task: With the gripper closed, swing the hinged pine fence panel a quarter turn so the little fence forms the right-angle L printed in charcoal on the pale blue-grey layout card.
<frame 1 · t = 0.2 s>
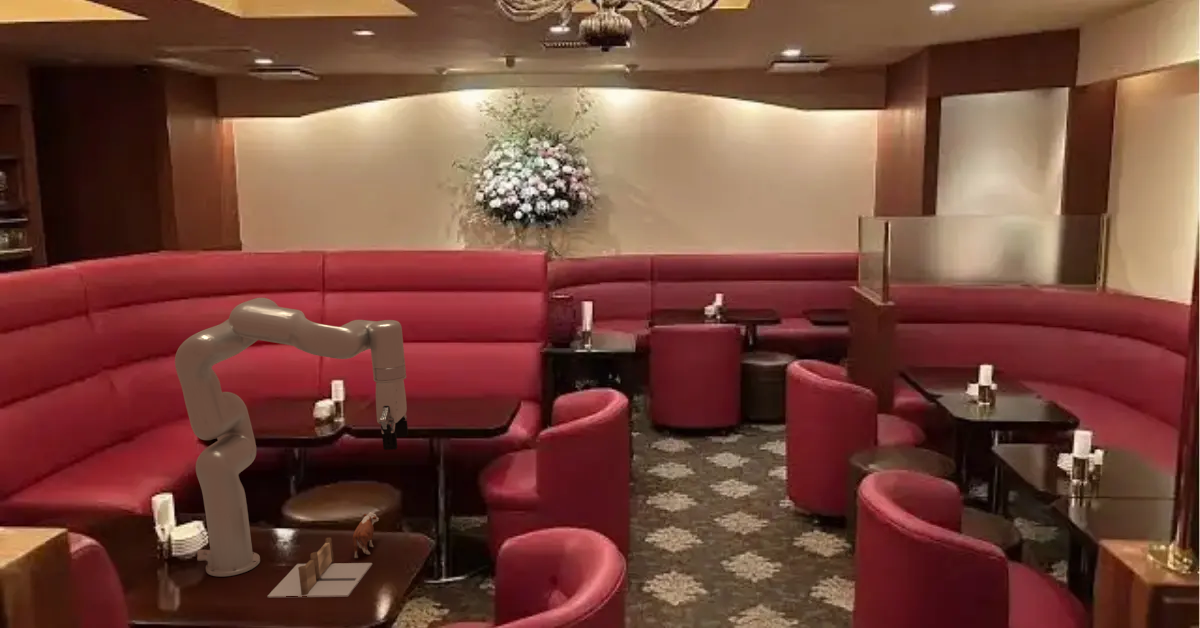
hand: (396, 442, 226), 31 cm above the table, tool pointing down, fingers open, 9 cm apart
fixed fence section: (310, 589, 220), resting on layout card
bull figurine: (366, 550, 241), on the table
fence panel: (322, 557, 228), point 4 cm above the table, hinge at 0.0°
layout card: (321, 580, 224), on the table
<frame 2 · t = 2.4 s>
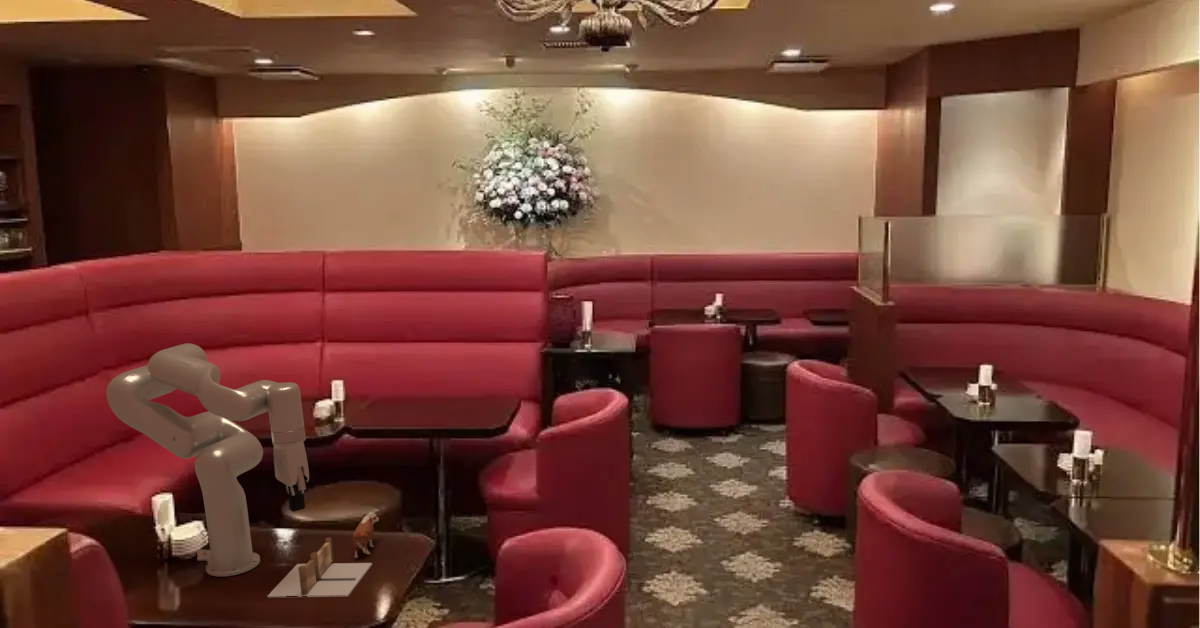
hand: (297, 509, 226), 16 cm above the table, tool pointing down, fingers closed
nothing on the table moved.
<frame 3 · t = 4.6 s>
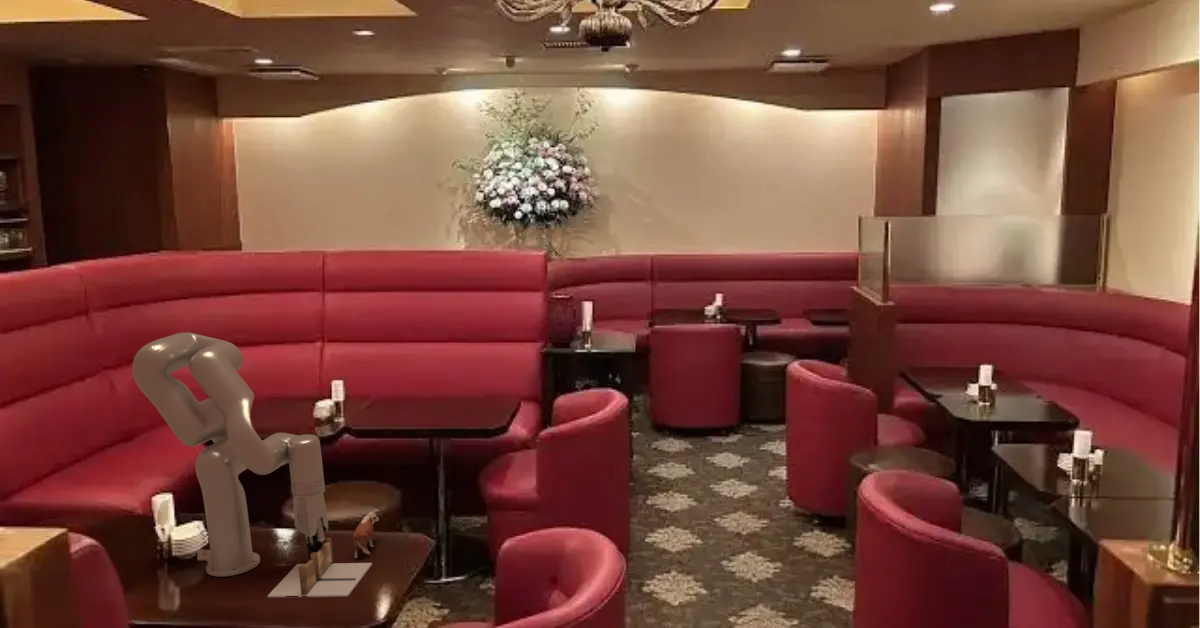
hand: (316, 557, 231), 3 cm above the table, tool pointing down, fingers closed
fence panel: (322, 557, 228), point 4 cm above the table, hinge at 0.0°, touching gripper
everything else where it was.
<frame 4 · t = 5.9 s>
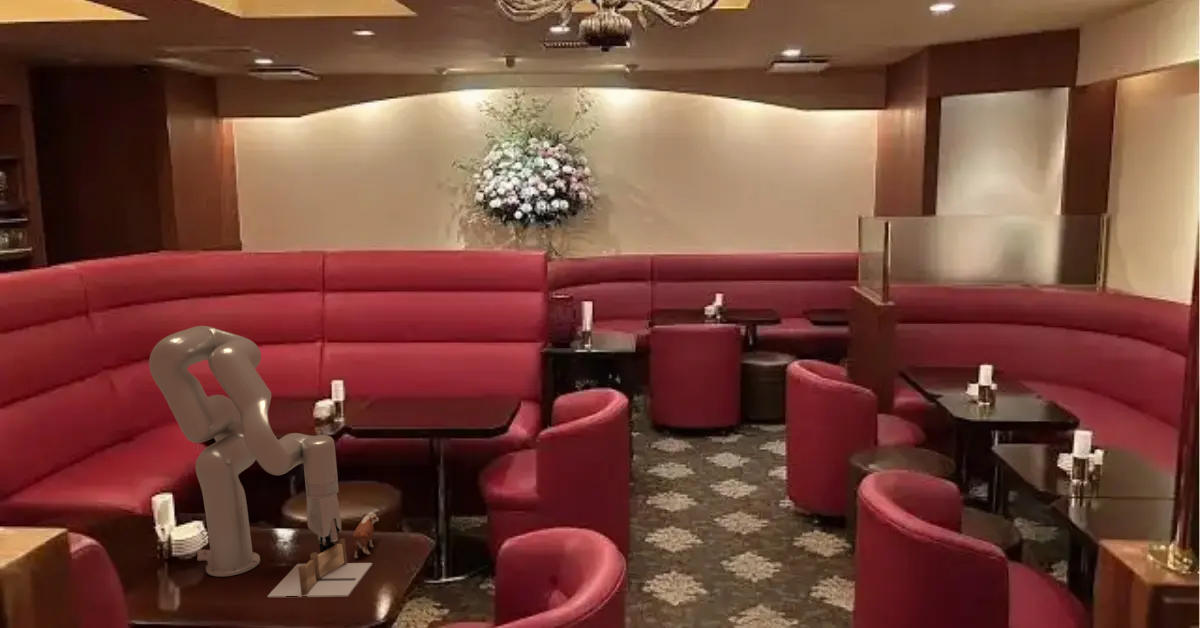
hand: (328, 558, 231), 2 cm above the table, tool pointing down, fingers closed
fence panel: (329, 558, 227), point 4 cm above the table, hinge at 23.7°, touching gripper
everything else where it was.
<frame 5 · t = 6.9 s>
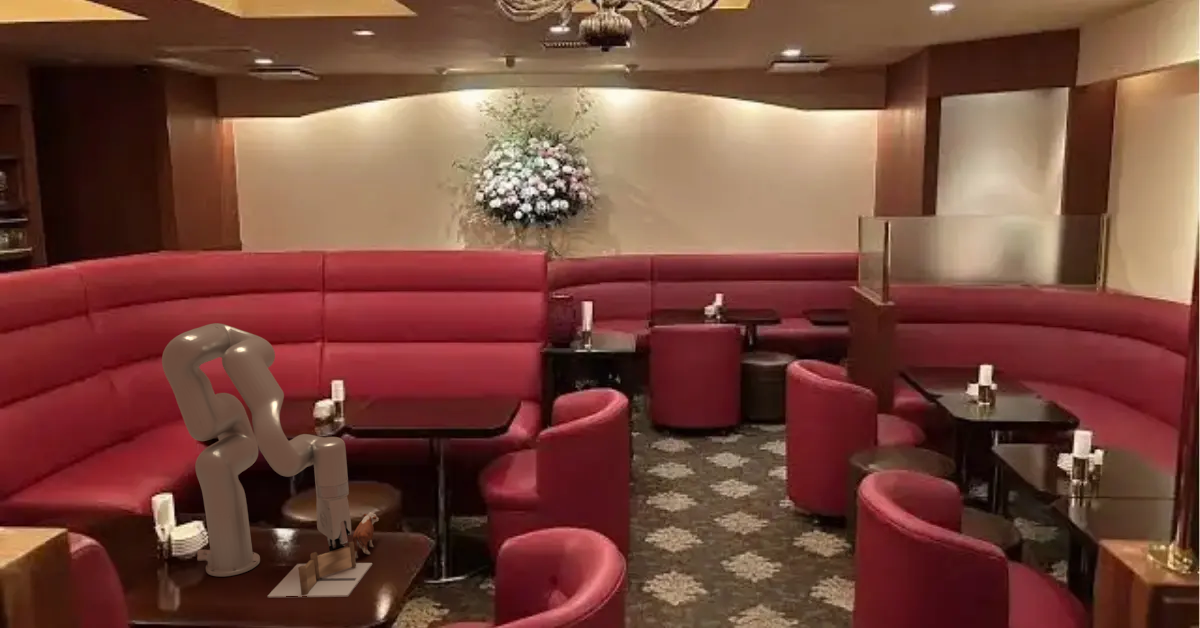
hand: (337, 560, 230), 2 cm above the table, tool pointing down, fingers closed
fence panel: (333, 560, 226), point 4 cm above the table, hinge at 46.5°, touching gripper
everything else where it was.
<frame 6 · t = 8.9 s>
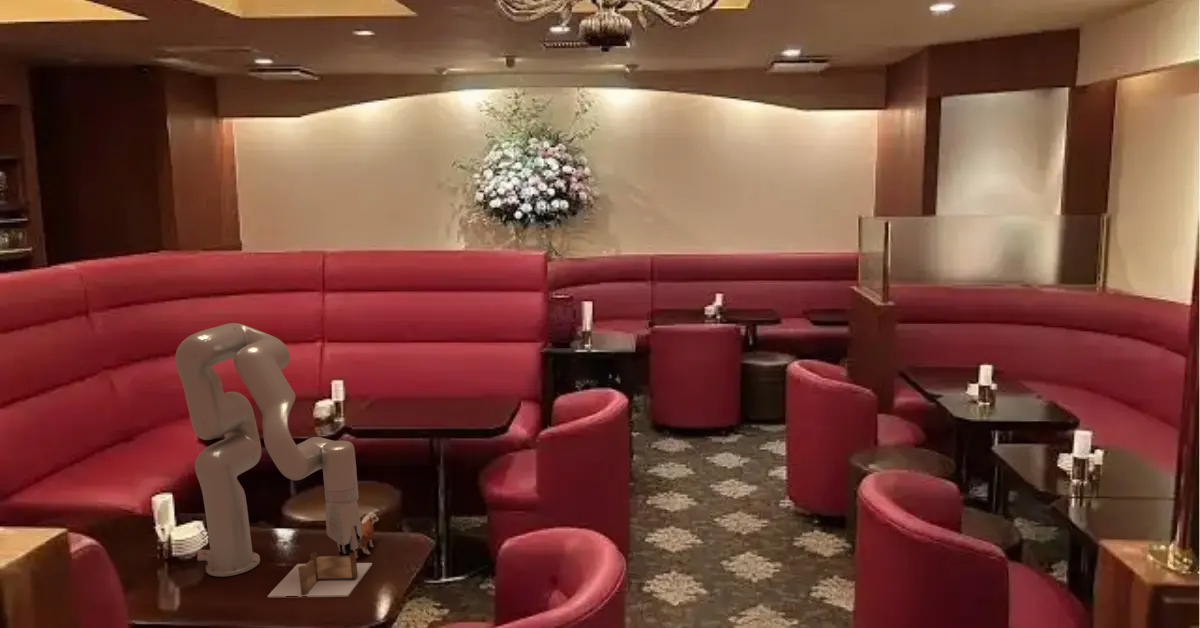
hand: (348, 566, 226), 2 cm above the table, tool pointing down, fingers closed
fence panel: (334, 565, 223), point 4 cm above the table, hinge at 87.4°, touching gripper
everything else where it was.
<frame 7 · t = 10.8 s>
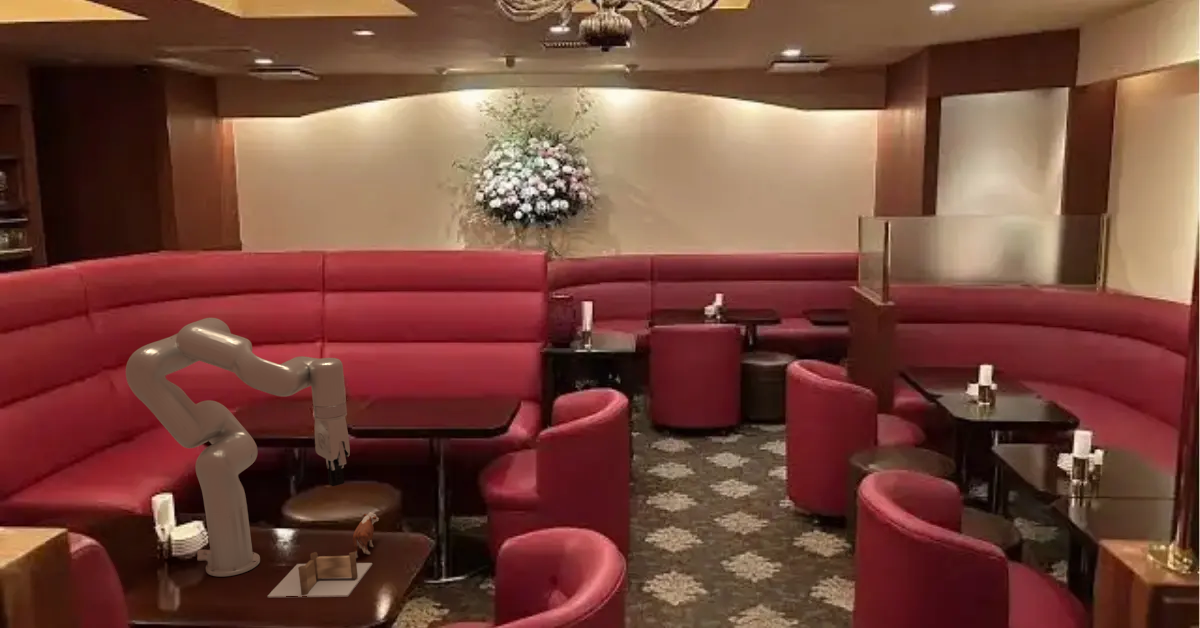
hand: (336, 484, 228), 21 cm above the table, tool pointing down, fingers closed
fence panel: (334, 565, 223), point 4 cm above the table, hinge at 88.0°
everything else where it was.
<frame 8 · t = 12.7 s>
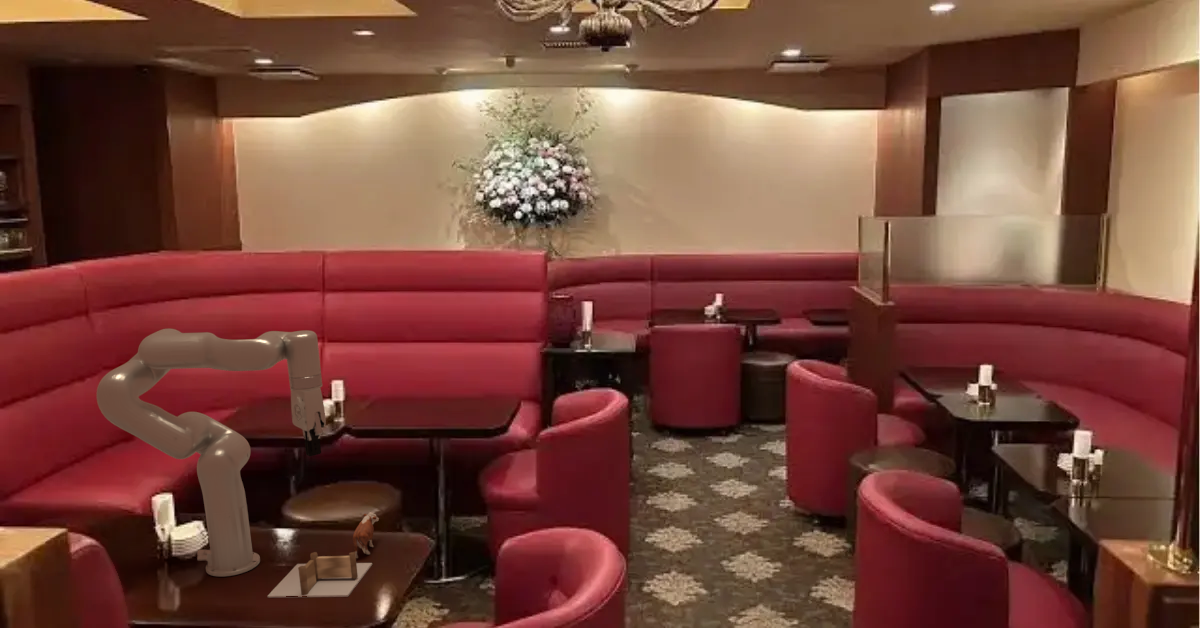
hand: (313, 454, 233), 27 cm above the table, tool pointing down, fingers closed
nothing on the table moved.
at the end: fence panel at +88° (first picture: +0°); bull figurine moved 0.3 cm from its start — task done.
